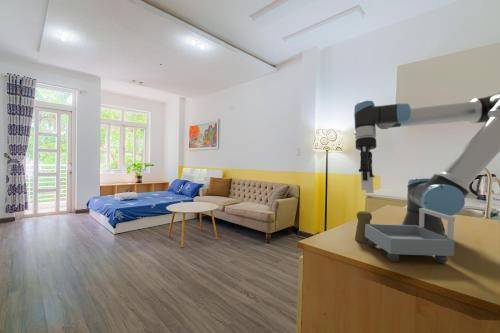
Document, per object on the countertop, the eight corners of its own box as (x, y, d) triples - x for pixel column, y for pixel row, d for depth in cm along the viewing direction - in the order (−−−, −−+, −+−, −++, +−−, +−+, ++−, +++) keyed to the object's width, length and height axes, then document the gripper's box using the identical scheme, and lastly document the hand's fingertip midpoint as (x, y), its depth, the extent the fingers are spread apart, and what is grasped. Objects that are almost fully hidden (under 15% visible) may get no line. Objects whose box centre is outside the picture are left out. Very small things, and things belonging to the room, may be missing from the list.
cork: (374, 243, 85) (375, 213, 84) (356, 242, 86) (357, 212, 86) (369, 238, 91) (370, 210, 90) (353, 237, 92) (353, 209, 92)
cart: (418, 246, 83) (419, 207, 83) (457, 266, 67) (458, 218, 67) (364, 244, 83) (365, 205, 83) (390, 263, 67) (391, 216, 67)
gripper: (359, 147, 106) (361, 193, 103) (350, 131, 86) (352, 188, 82) (378, 145, 102) (380, 194, 99) (373, 128, 82) (376, 188, 78)
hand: (367, 191), depth 90 cm, fingers open, 13 cm apart
